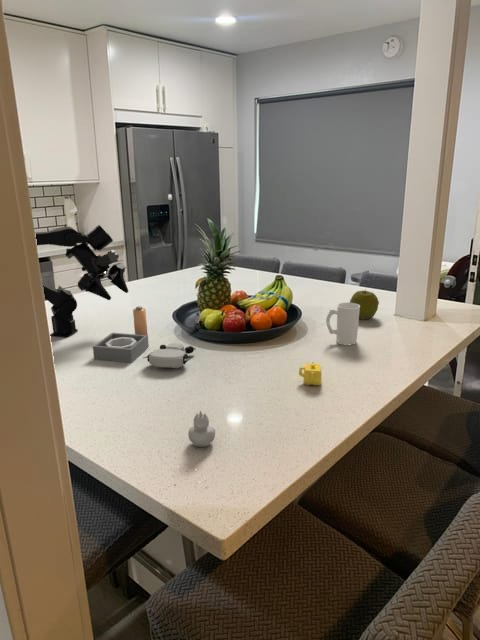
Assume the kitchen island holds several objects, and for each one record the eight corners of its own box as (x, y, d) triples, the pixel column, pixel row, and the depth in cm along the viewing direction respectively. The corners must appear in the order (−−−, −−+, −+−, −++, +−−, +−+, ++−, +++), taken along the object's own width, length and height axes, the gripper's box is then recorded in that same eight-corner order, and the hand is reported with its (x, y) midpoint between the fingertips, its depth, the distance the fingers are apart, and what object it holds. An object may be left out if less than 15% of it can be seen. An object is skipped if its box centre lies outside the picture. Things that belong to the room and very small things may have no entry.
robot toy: (159, 354, 147) (142, 371, 133) (159, 340, 146) (141, 355, 131) (198, 356, 145) (185, 373, 131) (198, 342, 144) (184, 358, 130)
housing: (94, 359, 141) (92, 346, 140) (113, 344, 152) (112, 332, 151) (132, 362, 138) (130, 349, 137) (148, 347, 150) (147, 335, 148)
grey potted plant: (186, 451, 96) (185, 416, 94) (191, 433, 102) (189, 400, 100) (213, 452, 96) (212, 416, 93) (216, 434, 102) (215, 400, 100)
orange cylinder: (133, 338, 157) (130, 308, 153) (138, 334, 160) (136, 305, 157) (144, 339, 156) (142, 309, 153) (149, 335, 160) (147, 305, 156)
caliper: (199, 331, 164) (198, 313, 162) (196, 331, 164) (195, 313, 162) (209, 313, 183) (209, 297, 181) (206, 313, 183) (206, 297, 181)
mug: (354, 338, 156) (357, 302, 152) (359, 345, 149) (362, 308, 146) (323, 338, 156) (325, 302, 152) (326, 345, 150) (328, 308, 146)
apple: (346, 320, 173) (348, 290, 169) (351, 312, 181) (353, 284, 178) (375, 323, 169) (378, 293, 166) (378, 315, 178) (381, 286, 174)
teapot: (299, 375, 130) (299, 357, 128) (320, 376, 129) (321, 358, 127) (298, 388, 122) (298, 369, 121) (321, 389, 121) (322, 371, 120)
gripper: (80, 248, 145) (114, 287, 145) (118, 239, 162) (148, 274, 161) (63, 271, 151) (95, 309, 150) (102, 260, 167) (131, 294, 166)
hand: (119, 295), depth 157 cm, fingers open, 9 cm apart
